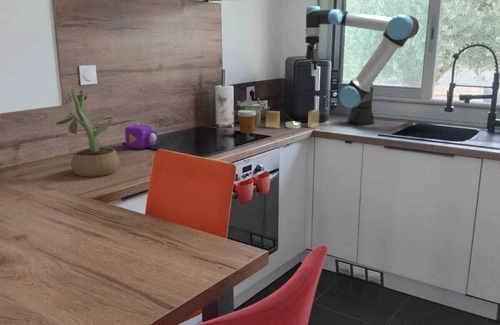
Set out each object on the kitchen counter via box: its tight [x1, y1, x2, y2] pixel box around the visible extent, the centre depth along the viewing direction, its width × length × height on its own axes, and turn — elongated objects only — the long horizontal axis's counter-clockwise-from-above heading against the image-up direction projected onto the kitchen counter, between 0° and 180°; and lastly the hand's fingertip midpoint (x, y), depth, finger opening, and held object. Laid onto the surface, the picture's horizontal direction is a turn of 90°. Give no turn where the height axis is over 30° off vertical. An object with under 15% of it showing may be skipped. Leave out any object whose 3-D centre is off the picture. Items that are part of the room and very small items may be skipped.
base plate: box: [285, 120, 302, 129], centre depth 251 cm, size 26×16×4 cm, turn 96°
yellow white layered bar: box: [307, 109, 320, 128], centre depth 252 cm, size 7×2×9 cm, turn 137°
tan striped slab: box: [265, 110, 281, 129], centre depth 249 cm, size 7×2×9 cm, turn 66°
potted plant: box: [55, 88, 120, 178], centre depth 172 cm, size 22×18×30 cm
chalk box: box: [243, 98, 262, 126], centre depth 262 cm, size 9×9×15 cm
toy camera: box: [124, 122, 158, 150], centre depth 211 cm, size 11×14×10 cm
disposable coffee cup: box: [236, 109, 256, 135], centre depth 237 cm, size 10×10×12 cm
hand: (311, 75), depth 266 cm, fingers open, 13 cm apart
